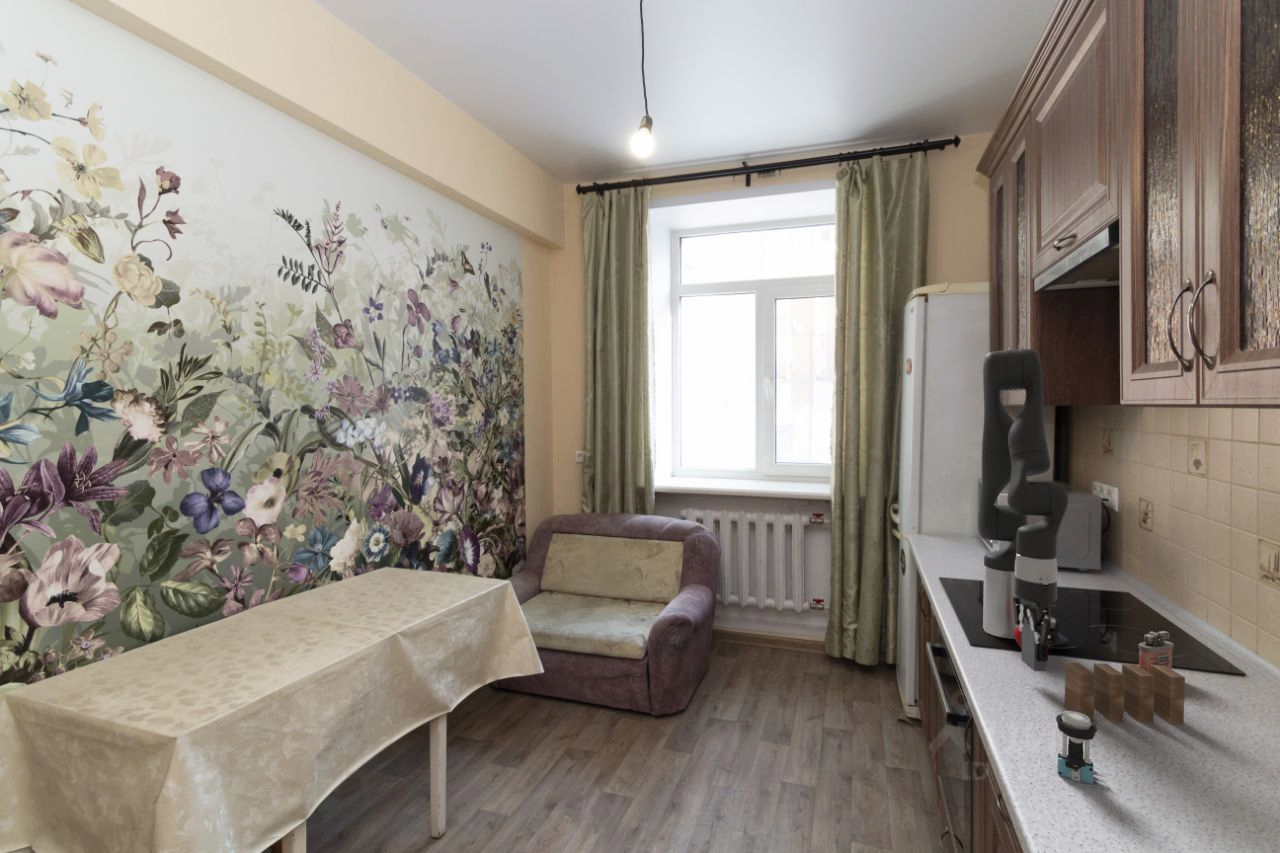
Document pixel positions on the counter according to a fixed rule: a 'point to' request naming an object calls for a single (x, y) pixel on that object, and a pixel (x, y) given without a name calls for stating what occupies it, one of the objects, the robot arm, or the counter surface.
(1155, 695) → the walnut tile
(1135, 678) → the walnut tile
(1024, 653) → the charcoal tile
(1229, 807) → the counter surface
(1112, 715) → the walnut tile
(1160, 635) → the lighter
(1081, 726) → the push button
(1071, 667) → the walnut tile
